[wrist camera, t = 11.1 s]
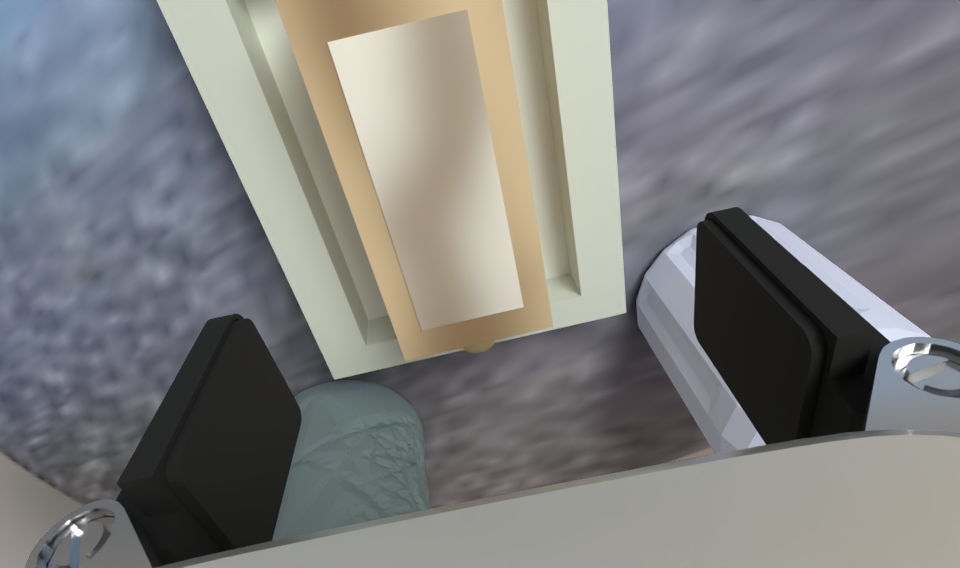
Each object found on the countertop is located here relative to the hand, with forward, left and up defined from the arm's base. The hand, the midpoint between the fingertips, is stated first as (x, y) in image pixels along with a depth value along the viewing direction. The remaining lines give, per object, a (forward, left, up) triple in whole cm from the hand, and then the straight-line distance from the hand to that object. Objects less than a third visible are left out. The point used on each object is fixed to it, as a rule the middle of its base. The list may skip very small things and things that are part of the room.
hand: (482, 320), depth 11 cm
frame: (+1, 0, -13) cm, 13 cm away
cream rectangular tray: (+1, 0, -14) cm, 14 cm away
